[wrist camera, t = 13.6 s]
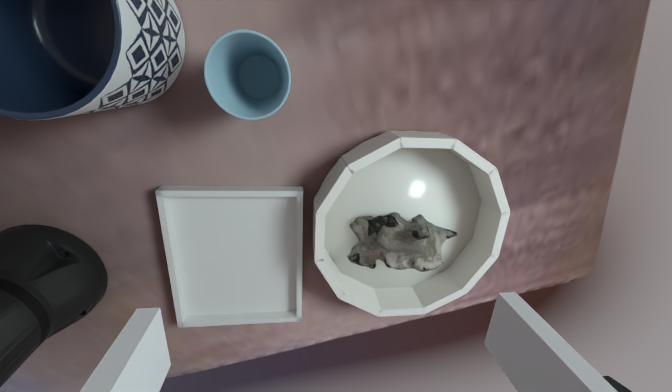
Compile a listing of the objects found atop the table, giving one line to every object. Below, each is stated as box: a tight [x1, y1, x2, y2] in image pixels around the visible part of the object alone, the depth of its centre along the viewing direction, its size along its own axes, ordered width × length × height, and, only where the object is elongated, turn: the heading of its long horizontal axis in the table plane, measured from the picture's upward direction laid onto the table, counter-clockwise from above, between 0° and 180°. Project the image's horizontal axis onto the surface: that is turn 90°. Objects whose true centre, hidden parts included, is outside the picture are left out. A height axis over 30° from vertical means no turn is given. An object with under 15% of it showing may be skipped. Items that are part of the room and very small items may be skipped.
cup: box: [204, 30, 291, 120], centre depth 33 cm, size 8×8×10 cm
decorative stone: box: [347, 212, 457, 272], centre depth 42 cm, size 16×9×10 cm, turn 102°
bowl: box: [313, 130, 510, 317], centre depth 44 cm, size 26×26×6 cm
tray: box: [155, 186, 303, 328], centre depth 45 cm, size 19×22×2 cm
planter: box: [0, 0, 185, 120], centre depth 28 cm, size 16×16×14 cm
